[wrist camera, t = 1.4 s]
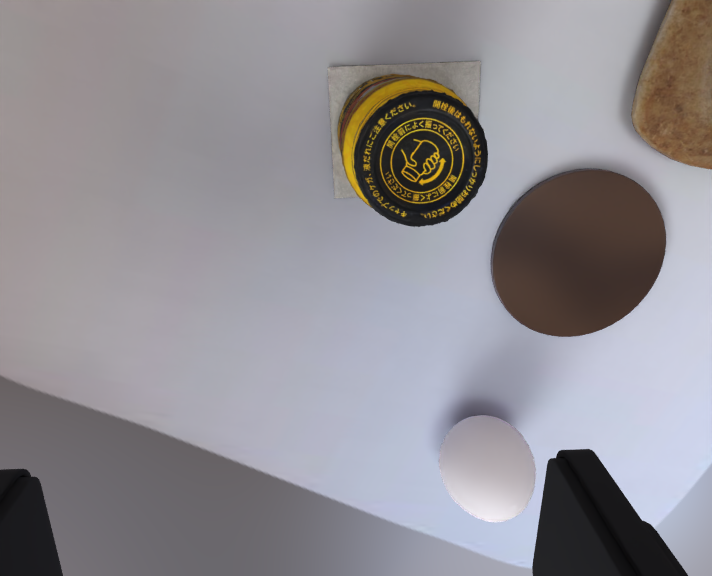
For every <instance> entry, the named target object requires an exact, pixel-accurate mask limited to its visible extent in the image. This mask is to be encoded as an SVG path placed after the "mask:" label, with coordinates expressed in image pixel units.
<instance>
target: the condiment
mask: <svg viewBox="0 0 712 576" xmlns="http://www.w3.org/2000/svg"><path fill="white" fill-rule="evenodd" d="M480 63H481V61H467V62H442V63H417V64H392V65H367V66H342V67H328V83H329V102H330V122H331V142H332V161H333V180H334V199H336V198H354V197H360V198H361V199H362V200H363V201H364V202H365V203H366V204H367V205H369V206H370V207H371V208H373V209H374V210H375V211H376V212H378V213H379V214H380V215H382V216H384V217H386V218H387V219H389V220H391V221H393V222H396V223H400V224H403V225H408V226H418V227H420V226H425V225H434V224H438V223H441V222H446V221H448V220H449V219H450V218H452V217H454V216H456V215H457V214H458V213H460V212H461V211H462V210H463V209H464V208H465V207H466V206H467V205H468V204H469V203H470V201H471V199H473V198H474V197H475V196H476V194H477V193H478V189H479V187H480V186H481V185H482V183H483V181H484V178H485V173H486V169H487V162H488V150H487V141H486V139H485V135H484V131H483V129H482V127H481V125H480V123H479V122H478V110H479V83H480Z"/></svg>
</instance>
